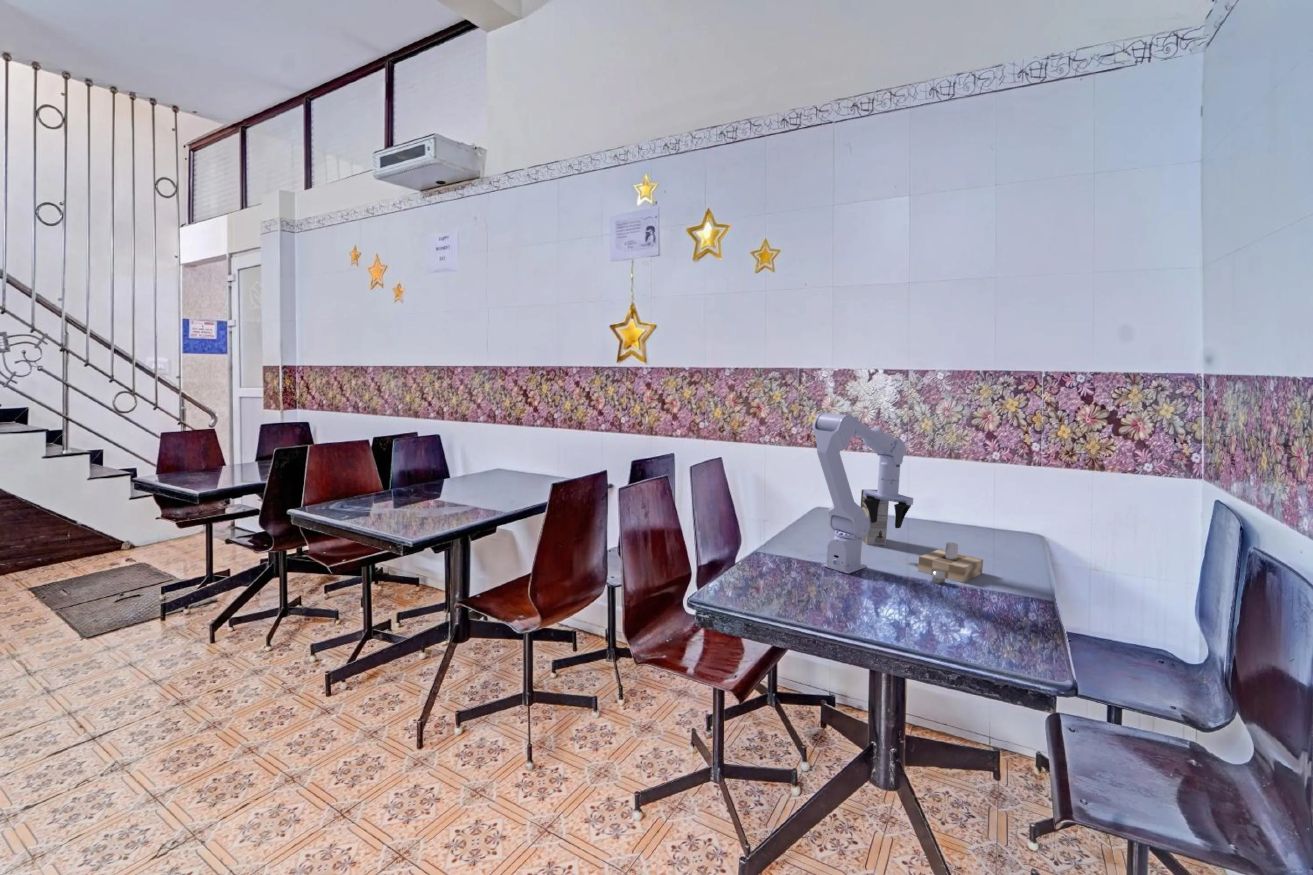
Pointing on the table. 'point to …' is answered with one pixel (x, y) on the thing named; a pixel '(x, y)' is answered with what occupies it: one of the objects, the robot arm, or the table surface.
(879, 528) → the coffee box
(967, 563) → the socket block
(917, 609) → the table surface
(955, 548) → the long pin
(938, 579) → the short stub
